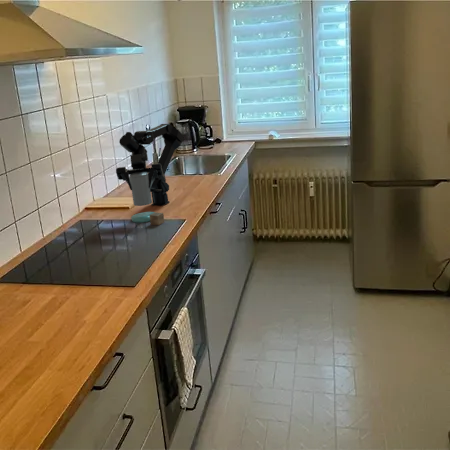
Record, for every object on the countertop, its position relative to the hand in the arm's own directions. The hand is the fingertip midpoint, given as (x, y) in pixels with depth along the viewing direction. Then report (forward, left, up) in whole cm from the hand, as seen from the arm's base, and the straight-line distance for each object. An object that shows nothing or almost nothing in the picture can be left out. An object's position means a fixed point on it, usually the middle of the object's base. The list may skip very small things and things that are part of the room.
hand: (140, 188), depth 210 cm
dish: (-1, +1, -13) cm, 13 cm away
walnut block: (+9, -3, -13) cm, 16 cm away
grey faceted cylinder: (-1, +1, -7) cm, 7 cm away
